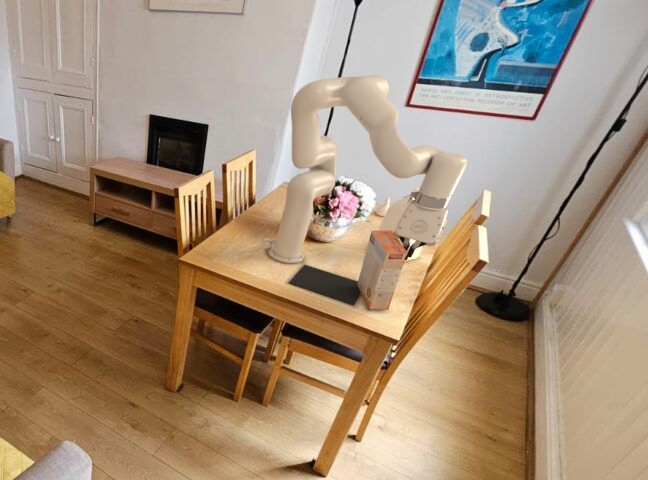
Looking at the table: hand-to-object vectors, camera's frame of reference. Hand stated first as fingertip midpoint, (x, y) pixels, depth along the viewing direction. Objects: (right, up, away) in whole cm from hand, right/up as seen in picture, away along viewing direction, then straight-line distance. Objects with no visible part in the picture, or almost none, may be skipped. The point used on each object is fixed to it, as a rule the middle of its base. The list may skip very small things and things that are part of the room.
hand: (404, 258), depth 134 cm
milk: (+21, +5, +37) cm, 43 cm away
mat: (-13, -7, +18) cm, 24 cm away
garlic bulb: (+37, +25, +66) cm, 80 cm away
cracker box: (-3, -12, +11) cm, 16 cm away
